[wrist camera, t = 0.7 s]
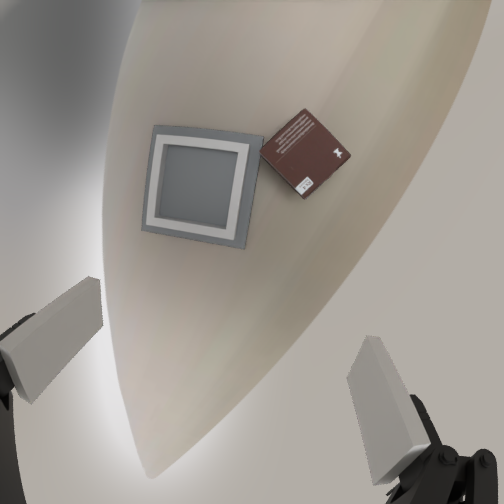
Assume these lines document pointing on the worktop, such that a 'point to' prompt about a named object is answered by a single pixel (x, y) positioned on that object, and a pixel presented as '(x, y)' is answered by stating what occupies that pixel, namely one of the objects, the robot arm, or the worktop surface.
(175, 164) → the grey and white frame
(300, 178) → the box
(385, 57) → the worktop surface
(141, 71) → the worktop surface
